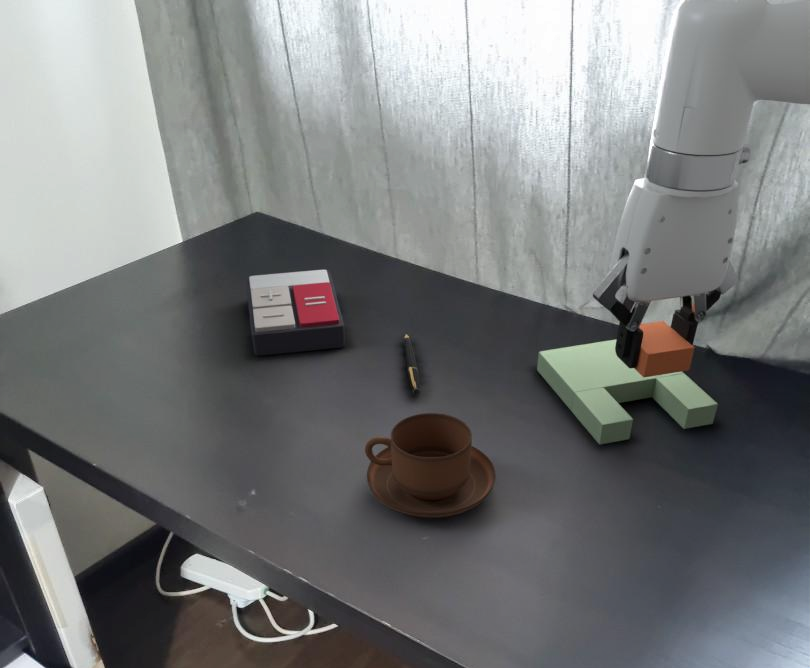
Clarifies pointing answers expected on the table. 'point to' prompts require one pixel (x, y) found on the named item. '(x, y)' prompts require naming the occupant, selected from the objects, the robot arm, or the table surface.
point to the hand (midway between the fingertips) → (652, 356)
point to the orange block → (662, 350)
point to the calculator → (294, 312)
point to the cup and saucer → (429, 467)
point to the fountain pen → (412, 366)
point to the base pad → (618, 390)
